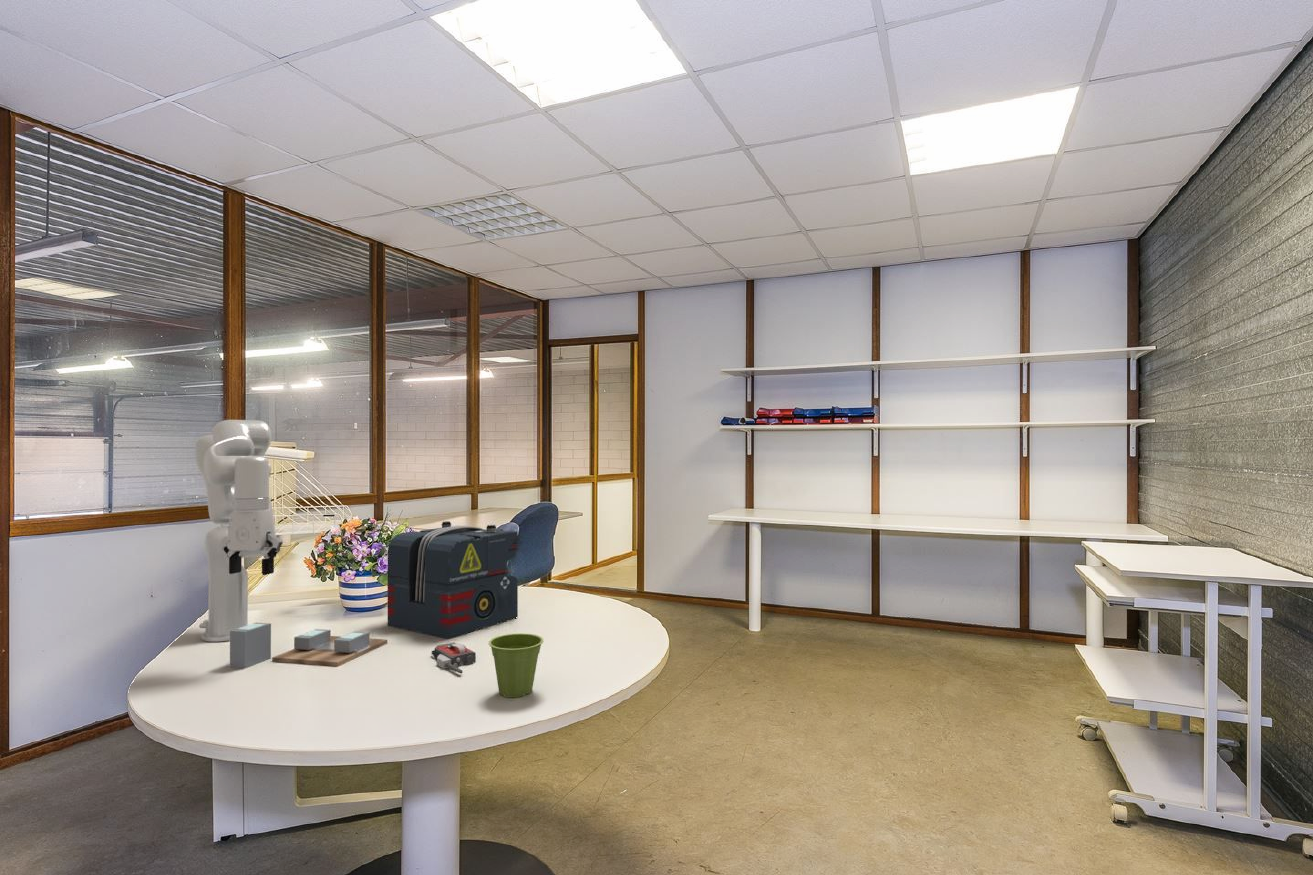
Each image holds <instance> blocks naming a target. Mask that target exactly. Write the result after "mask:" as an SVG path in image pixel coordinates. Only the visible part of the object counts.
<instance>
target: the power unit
mask: <svg viewBox="0 0 1313 875" xmlns="http://www.w3.org/2000/svg"><path fill="white" fill-rule="evenodd" d="M485 528H486V529H484V528H482V527H477V526H471V525H470V526H469V525H453V526H452V523H451V521H450V520H447V521H445V520H444V521H442V523H441V527H438V528H429V529H424V530H419V531H408V532H407V531H406V532H401V533H399V534H395V536H393V537H392V539H391V540H390V542H389V543H388V547H387V627H392V628H397V629H400V630H404V631H405V630H406V631H409V632H410V631H411V632H415V633H420V634H424V635H429V636H433V637H434V636H435V637H438V638H443V639H447V640H450V639H453V638H457V637H459V636H463V635H466V634H469V633H473V632H476V631H480V630H482V629H486V628H489V627H492V626H495V625H494V624H496V625H498V624H497V623H499V624H501V623H500V622H502V623H504V622H503V621H505V622H508V620H509V621H511V619H512V620H514V618H515V619H517V618H518V617H519V615H518V614H519V613H518V612H519V610H518V608H519V605H518V602H519V600H518V598H519V597H518V595H519V593H518V590H519V588H518V587H519V586H518V585H519V584H518V583H519V582H518V581H519V580H518V579H519V578H518V577H517V576H515V575H511V574H508V562H509V561H510V560H512V559H513V558H514V557H516V556H517V555H518V552H519V551H518V548H519V547H518V545H519V544H518V540H519V538H518V536H519V535H518V533H519V532H518V530H516V529H515V530H514V529H513V530H504V529H501V528H497V525H496V524H487V526H486V527H485ZM516 617H517V618H516Z"/></svg>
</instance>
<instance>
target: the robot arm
mask: <svg viewBox="0 0 1313 875" xmlns="http://www.w3.org/2000/svg"><path fill="white" fill-rule="evenodd" d="M211 433H212V434H208V435H207V434H206V435H203V436H201V437H200V436H199V438H198V439H197V440H196V441H195V444H194V456H195V460H196V465H197V468H198V469H199V472H200V474H201V475H202V478H203V479H204V482H205V485H206V495H207V496H206V498H207V509H208V510H207V511H208V516H209V519H210V521H211V522H212V523H213V524H215V525H219V526H218V527H217V526H216V527H215V528H212V529H210V530H209V531H208V532H207V533H206V535H205V540H204V546H205V552H206V558H207V566H208V567H207V568H208V619H205V620H204V619H203V622H201V623H199V625H198V627H199V629H205V632H203V633H202V634H201V640H202V641H203V642H208V643H209V642H211V643H212V642H214V643H215V642H227V641H228V642H230V631H231V630H234V629H238V628H241V627H244V626H247V625H249V624H248V610H249V608H248V607H249V606H248V602H249V599H248V596H249V594H248V593H249V589H248V588H249V583H248V582H249V576H248V575H249V574H248V571H247V569H246V568H245V567H244V565H242V559H243V558H244V559H245V558H252V557H254V558H255V557H263V558H262V559H261V575H262V576H267V575H270V574H271V575H272V574H274V572H275V564H274V563H275V558H276V557H277V555H278V553H279V552H280V551H281V547H282V545H283V542H284V541H283V540H282V539H281V538H280V537H278V536H277V535H276V525H275V520H274V513H273V512H274V511H273V505H272V501H271V497H270V478H271V475H272V466H271V461H269V459H268V458H267V457H265V454H266V453H267V452H268V449H269V448H270V445H271V443H272V439H273V438H272V431H271V428H270V426H269V424H268V423H266V421H263V420H260V419H259V420H258V419H257V420H256V419H255V420H253V419H225V420H221V421H219V422H217V423H215V425H214V426H213V428H212V431H211ZM220 525H222V526H220Z"/></svg>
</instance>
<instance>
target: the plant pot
mask: <svg viewBox="0 0 1313 875" xmlns="http://www.w3.org/2000/svg"><path fill="white" fill-rule="evenodd" d="M543 643H544V638H543V637H542V636H540V635H537V634H532V633H525V632H524V633H522V632H521V633H507V634H502V635H498V636H495V637H493V638H491V639H490V640H488V645H489V647H491V648H490V649H491V654H492V657H493V662H494V668H495V673H496V674H495V675H496V680H497V681H496V682H497V688H498V693H499V694H500V695H502V696H504V697H507V698H519V697H522V696H524V695H529V694H530V693H532V692H533V688H534V683H535V682H534V680H535V676H536V670H537V663H538V657H539V655H540V653H541V652H540V651H541V646H542V644H543Z"/></svg>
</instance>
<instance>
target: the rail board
mask: <svg viewBox="0 0 1313 875" xmlns="http://www.w3.org/2000/svg"><path fill="white" fill-rule="evenodd" d="M370 634H371V633H370V632H367V631H352V632H350V633H348V634H346V635H342V636H338V635H337V636H336V635H331V629H319V628H315V629H313V630H310V631H307V632H305V633H302V634H300V635H299V634H298V635H297V636H294V637H293V641H294V644H293V645H294V647H293V649H290V650H288V651H285V652H283V653H280V654H277V655H275V656H273V657H272V656H271V661H272V663H273V662H275V663H287V664H288V663H289V664H298V665H301V664H302V665H315V666H329V667H340V666H342V665H344V664H346V663H348V662H351V661H352V660H355V659H356V658H359V657H361V656H363V655H365V654H368V653H371V652H372V651H374V650H376V649H378V648H380V647H383V646H385V645H387V644H388V638H387V639H386V638H384V639H383V638H370V637H371V636H370Z"/></svg>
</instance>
